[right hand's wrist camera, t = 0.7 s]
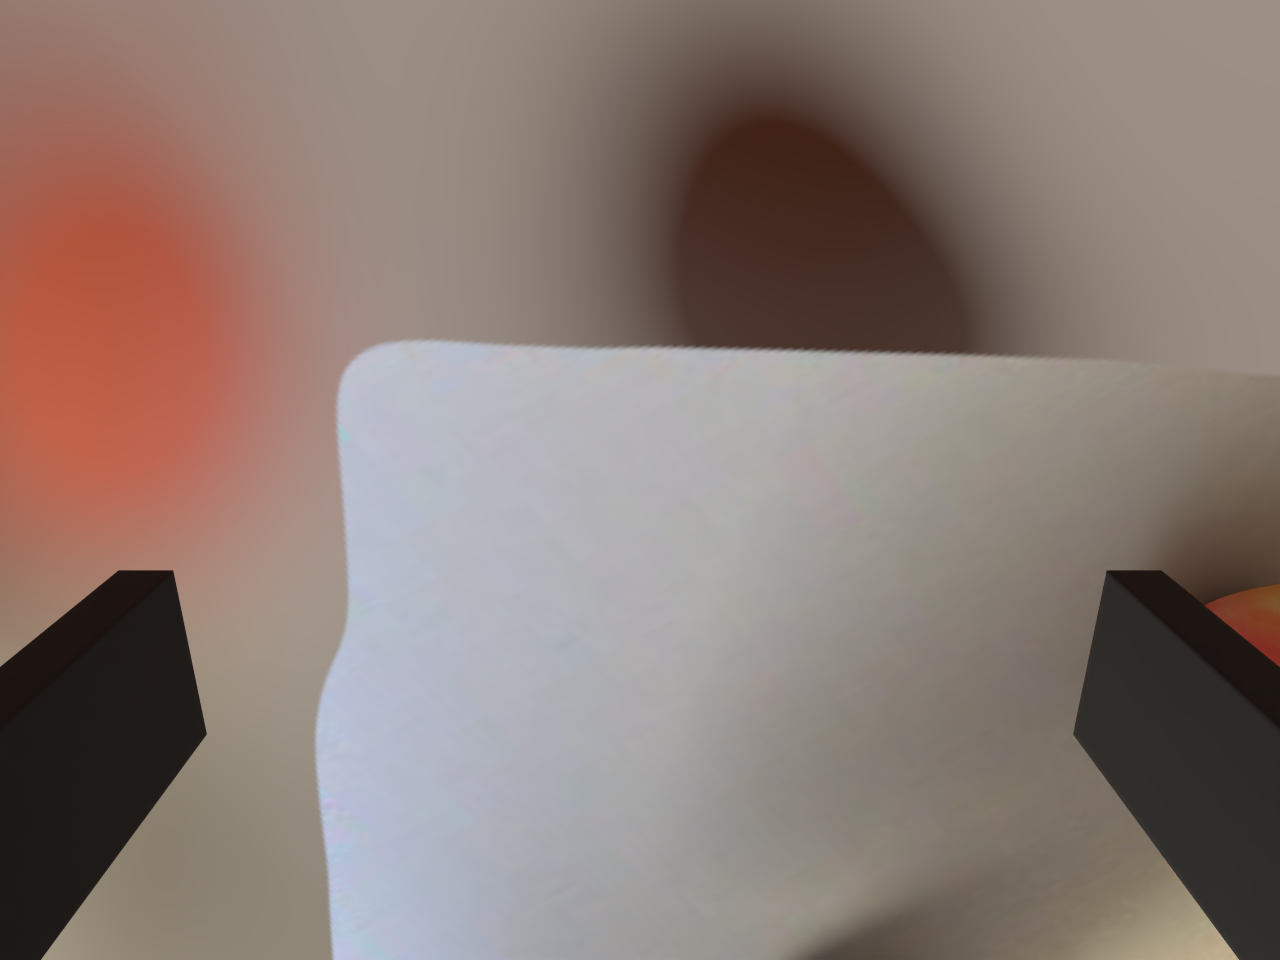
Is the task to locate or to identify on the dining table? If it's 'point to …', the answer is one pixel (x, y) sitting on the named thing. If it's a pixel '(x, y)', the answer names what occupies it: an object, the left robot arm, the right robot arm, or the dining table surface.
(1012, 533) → the dining table surface
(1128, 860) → the dining table surface
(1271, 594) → the apple
